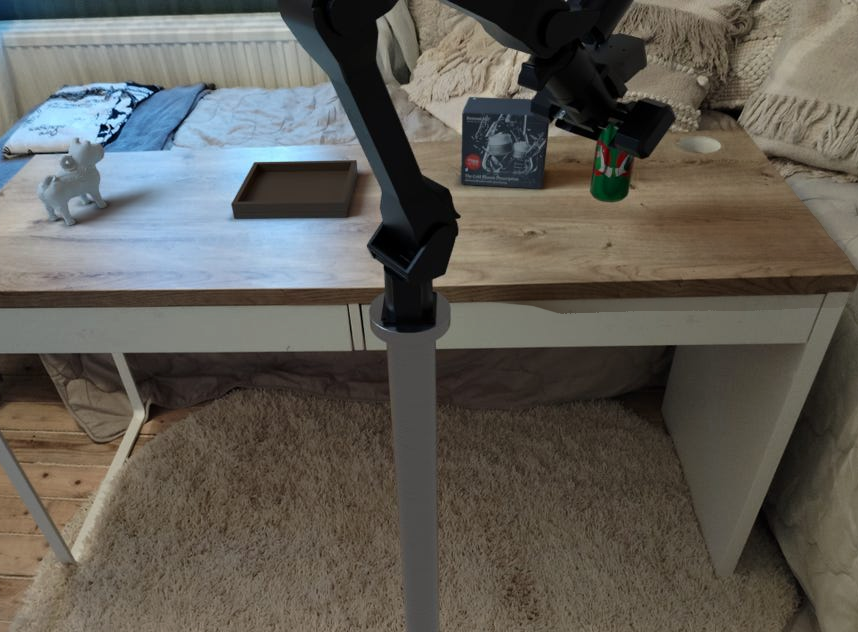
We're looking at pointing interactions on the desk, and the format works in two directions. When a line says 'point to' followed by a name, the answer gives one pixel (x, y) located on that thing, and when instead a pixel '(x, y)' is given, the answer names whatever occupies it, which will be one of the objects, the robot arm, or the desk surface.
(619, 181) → the soda can
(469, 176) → the small box
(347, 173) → the tray
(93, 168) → the dog figurine
